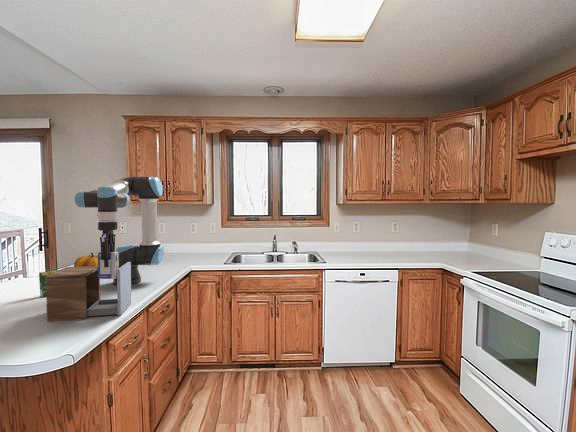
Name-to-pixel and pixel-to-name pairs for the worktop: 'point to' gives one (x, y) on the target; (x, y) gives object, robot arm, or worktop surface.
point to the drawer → (122, 295)
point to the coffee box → (44, 281)
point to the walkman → (114, 266)
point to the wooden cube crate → (71, 292)
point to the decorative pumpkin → (86, 261)
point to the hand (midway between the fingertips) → (108, 272)
